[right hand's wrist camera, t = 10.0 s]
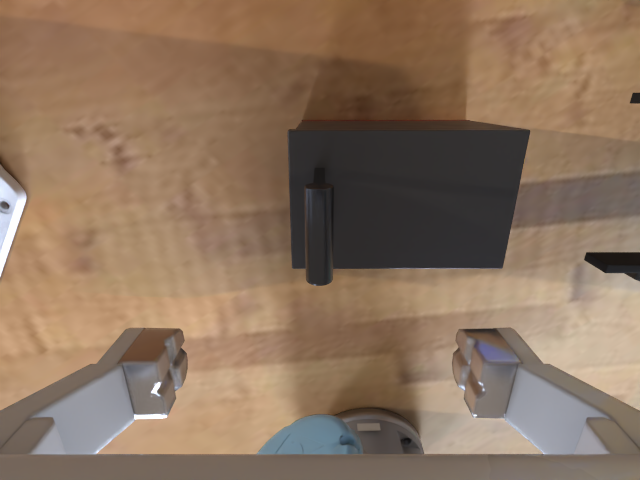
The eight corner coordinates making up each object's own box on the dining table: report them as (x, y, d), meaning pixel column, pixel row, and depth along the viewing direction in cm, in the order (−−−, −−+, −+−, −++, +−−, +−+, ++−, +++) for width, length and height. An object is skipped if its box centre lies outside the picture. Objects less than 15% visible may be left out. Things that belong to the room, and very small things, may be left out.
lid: (292, 263, 28) (283, 320, 21) (288, 129, 24) (275, 142, 17) (497, 263, 28) (558, 321, 21) (523, 128, 24) (608, 141, 17)
